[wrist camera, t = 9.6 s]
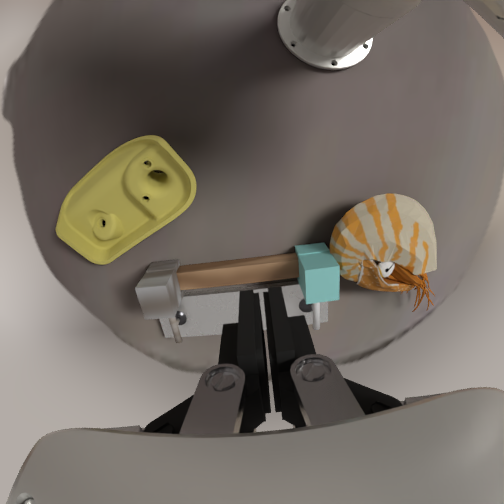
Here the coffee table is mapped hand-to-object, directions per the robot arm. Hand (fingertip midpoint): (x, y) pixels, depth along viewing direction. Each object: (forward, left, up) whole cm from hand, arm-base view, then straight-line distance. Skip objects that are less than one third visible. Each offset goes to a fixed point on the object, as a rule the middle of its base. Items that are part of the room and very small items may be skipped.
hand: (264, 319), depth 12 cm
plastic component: (-2, -16, -28) cm, 32 cm away
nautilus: (+10, +18, -27) cm, 34 cm away
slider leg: (+13, +7, -27) cm, 30 cm away
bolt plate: (+16, -3, -27) cm, 32 cm away
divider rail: (+13, -3, -27) cm, 30 cm away
